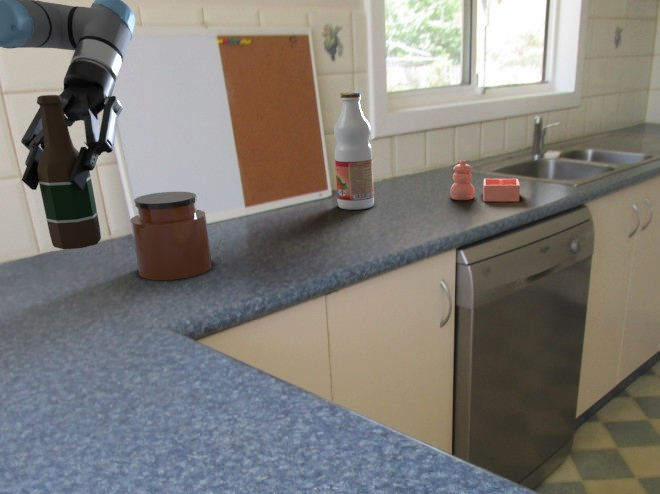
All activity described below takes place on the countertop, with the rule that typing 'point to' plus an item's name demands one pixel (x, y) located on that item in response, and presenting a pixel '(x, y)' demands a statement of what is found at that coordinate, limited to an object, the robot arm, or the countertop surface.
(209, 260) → the jar
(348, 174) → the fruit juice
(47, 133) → the beer bottle
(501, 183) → the pottery
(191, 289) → the countertop surface
